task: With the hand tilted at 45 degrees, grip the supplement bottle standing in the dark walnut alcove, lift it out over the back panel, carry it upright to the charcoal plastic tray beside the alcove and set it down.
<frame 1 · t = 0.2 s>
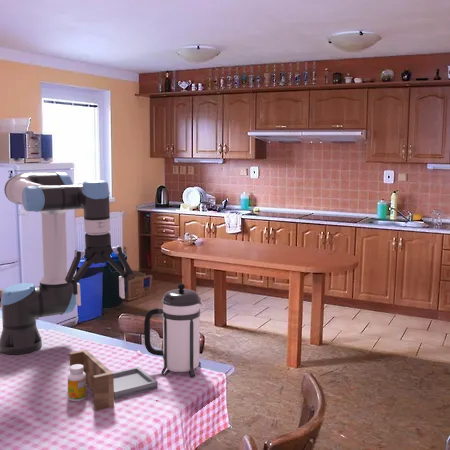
hand: (100, 300, 170), 28 cm above the table, tool pointing down, fingers open, 13 cm apart
tray: (127, 385, 175), on the table
coffee press: (177, 371, 187), on the table
alcove: (97, 392, 170), on the table
supplement bottle: (77, 398, 167), on the table
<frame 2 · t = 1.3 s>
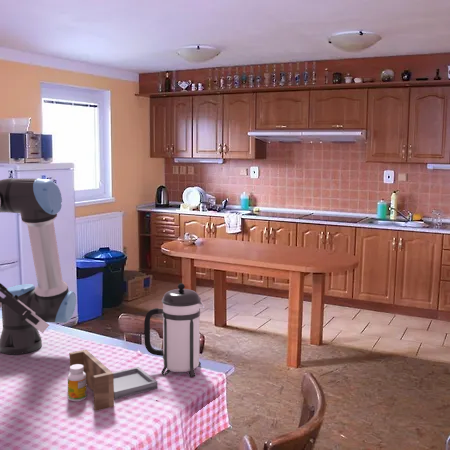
hand: (38, 322, 157), 25 cm above the table, tool tilted 45°, fingers open, 13 cm apart
nothing on the table moved.
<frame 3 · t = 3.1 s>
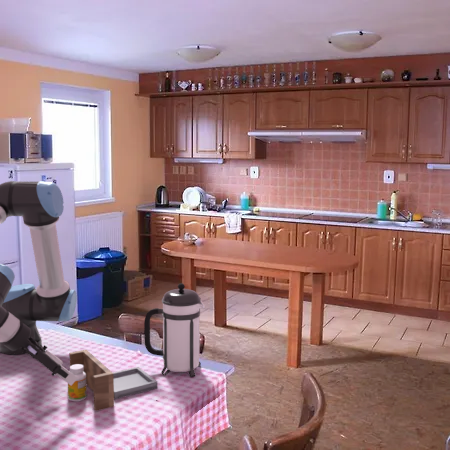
hand: (66, 373, 163), 9 cm above the table, tool tilted 45°, fingers open, 13 cm apart
nothing on the table moved.
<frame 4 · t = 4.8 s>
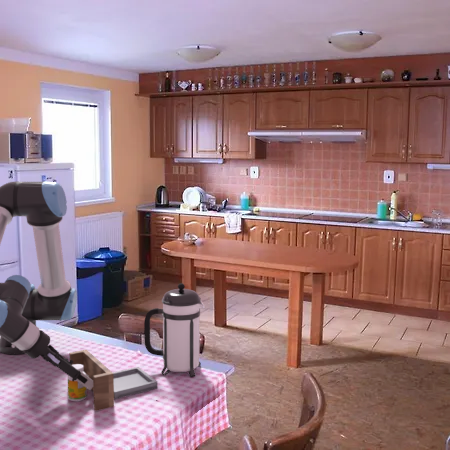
hand: (89, 382, 168), 4 cm above the table, tool tilted 45°, fingers closed on supplement bottle, 5 cm apart
supplement bottle: (77, 398, 167), on the table, touching gripper
everything else where it was.
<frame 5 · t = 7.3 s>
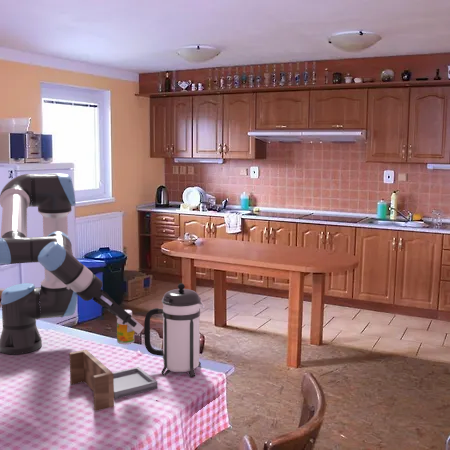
hand: (136, 327, 175), 18 cm above the table, tool tilted 45°, fingers closed on supplement bottle, 5 cm apart
supplement bottle: (125, 342, 173), point 14 cm above the table, touching gripper
everything else where it was.
when the fingers open (6 cm above the table, at t = 9.8 s): supplement bottle drops 1 cm, resting on tray.
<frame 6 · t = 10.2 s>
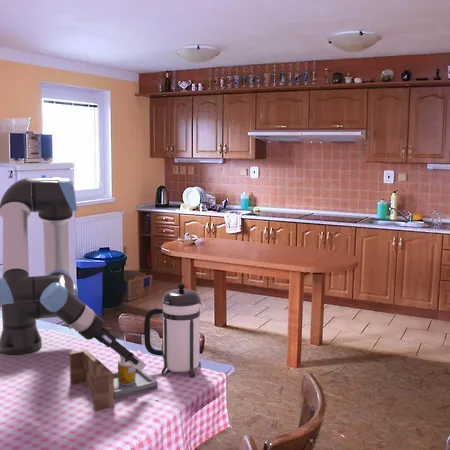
hand: (135, 361, 176), 7 cm above the table, tool tilted 45°, fingers open, 11 cm apart
supplement bottle: (126, 382, 175), point 1 cm above the table, touching tray
everything else where it was.
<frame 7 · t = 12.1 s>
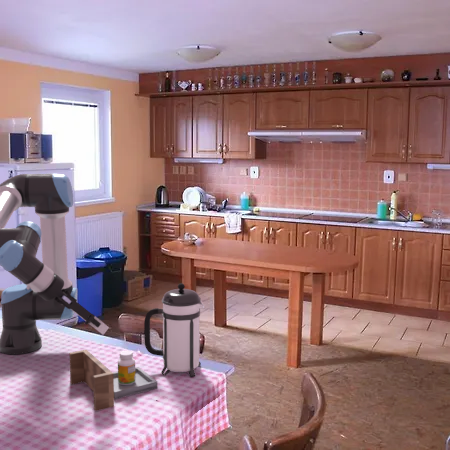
hand: (97, 324, 169), 21 cm above the table, tool tilted 45°, fingers open, 13 cm apart
nothing on the table moved.
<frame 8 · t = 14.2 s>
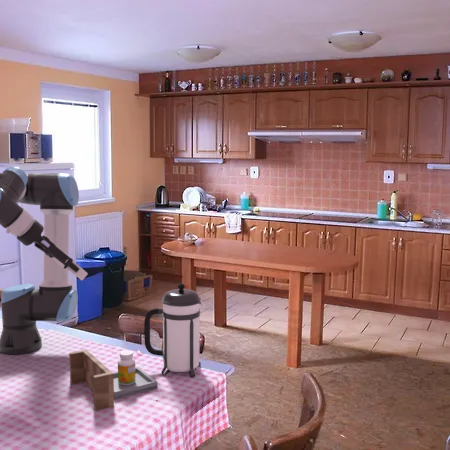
hand: (77, 272, 172), 36 cm above the table, tool tilted 45°, fingers open, 13 cm apart
nothing on the table moved.
at the end: supplement bottle inside the target area on the tray (0.1 cm from its centre), point 0.8 cm above the tray's base; supplement bottle tilted 0°; the gripper is holding nothing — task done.
